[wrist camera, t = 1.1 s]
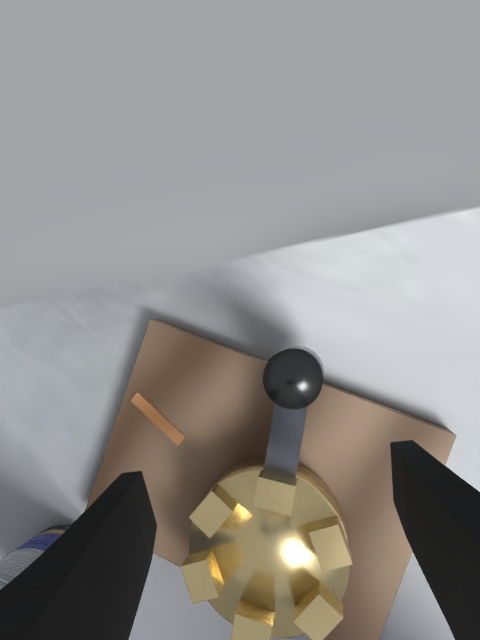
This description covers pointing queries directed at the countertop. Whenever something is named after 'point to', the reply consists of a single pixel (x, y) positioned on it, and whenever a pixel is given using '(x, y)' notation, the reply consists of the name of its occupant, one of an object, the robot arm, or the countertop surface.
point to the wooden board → (251, 442)
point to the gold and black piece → (273, 526)
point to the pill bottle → (27, 553)
